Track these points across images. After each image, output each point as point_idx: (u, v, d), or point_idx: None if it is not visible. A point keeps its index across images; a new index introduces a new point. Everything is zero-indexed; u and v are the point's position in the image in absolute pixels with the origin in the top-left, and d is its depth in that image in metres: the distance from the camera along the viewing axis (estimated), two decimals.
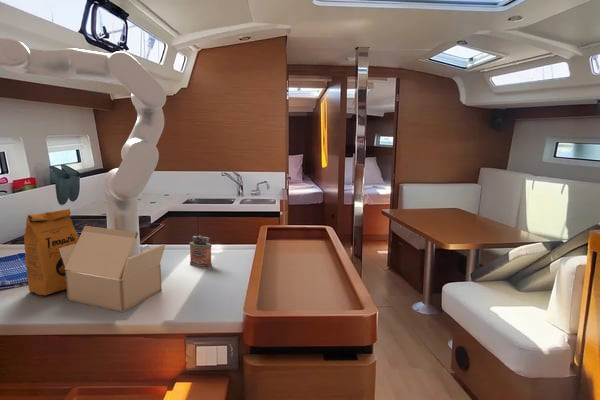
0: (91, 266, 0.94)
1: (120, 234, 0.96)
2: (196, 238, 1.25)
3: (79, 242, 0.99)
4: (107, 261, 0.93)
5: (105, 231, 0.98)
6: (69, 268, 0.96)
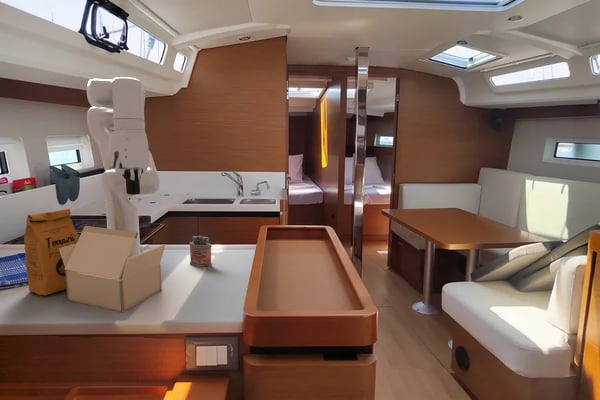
0: (91, 266, 0.94)
1: (120, 234, 0.96)
2: (196, 238, 1.25)
3: (79, 242, 0.99)
4: (107, 261, 0.93)
5: (105, 231, 0.98)
6: (69, 268, 0.96)
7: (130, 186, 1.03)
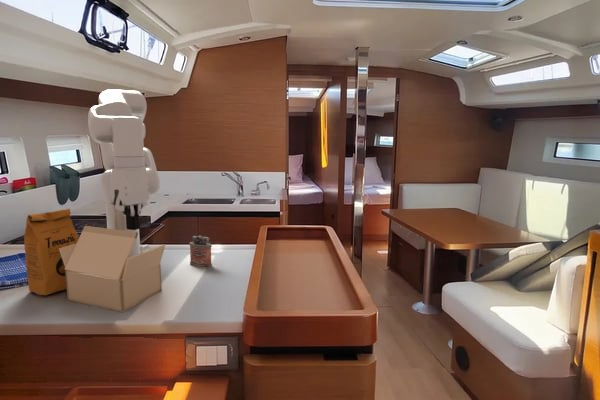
0: (91, 266, 0.94)
1: (120, 234, 0.96)
2: (196, 238, 1.25)
3: (79, 242, 0.99)
4: (107, 261, 0.93)
5: (105, 231, 0.98)
6: (69, 268, 0.96)
7: (130, 222, 1.04)
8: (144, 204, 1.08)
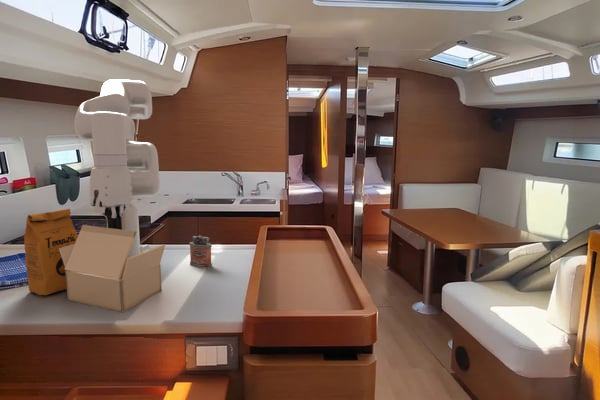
0: (90, 266, 0.94)
1: (118, 233, 0.96)
2: (196, 238, 1.25)
3: (78, 241, 0.98)
4: (106, 261, 0.93)
5: (103, 231, 0.97)
6: (69, 268, 0.96)
7: (111, 224, 0.98)
8: (127, 205, 1.02)
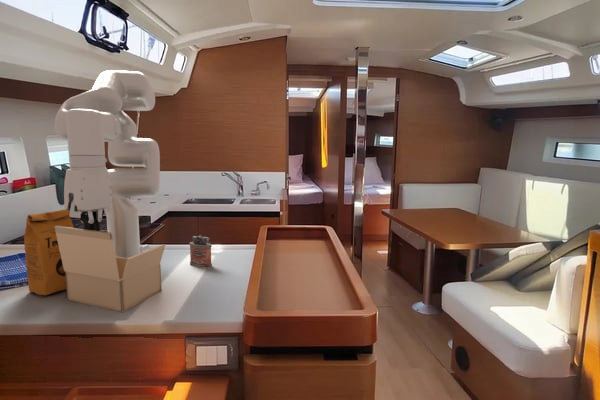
0: (86, 268, 0.93)
1: (94, 236, 0.89)
2: (196, 238, 1.25)
3: (60, 244, 0.94)
4: (98, 264, 0.91)
5: (78, 233, 0.90)
6: (68, 270, 0.95)
7: None
8: (106, 210, 0.95)
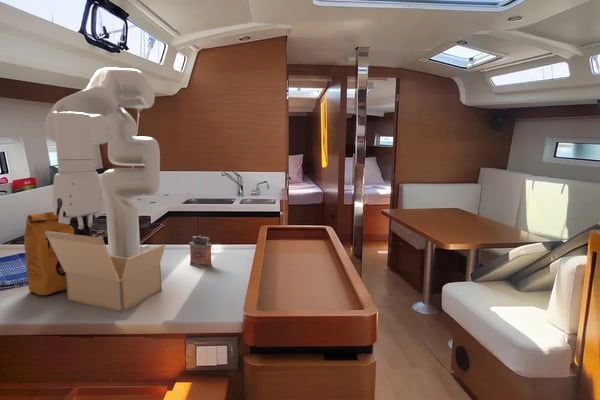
0: (85, 269, 0.93)
1: (86, 241, 0.87)
2: (196, 238, 1.25)
3: (54, 247, 0.92)
4: (96, 266, 0.90)
5: (69, 238, 0.88)
6: (68, 270, 0.95)
7: None
8: (97, 214, 0.93)
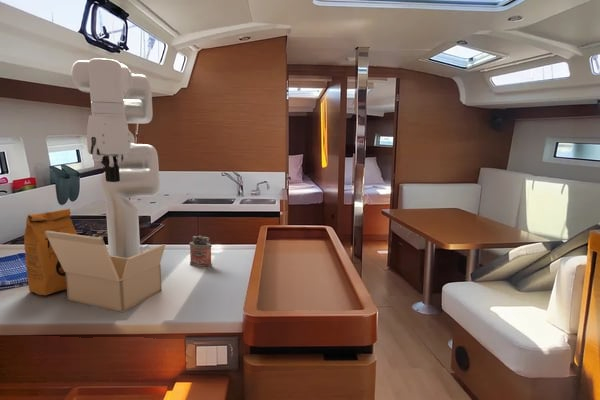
0: (85, 269, 0.93)
1: (86, 241, 0.87)
2: (196, 238, 1.25)
3: (54, 247, 0.92)
4: (96, 266, 0.90)
5: (69, 238, 0.88)
6: (68, 270, 0.95)
7: (109, 173, 0.98)
8: (125, 156, 1.03)
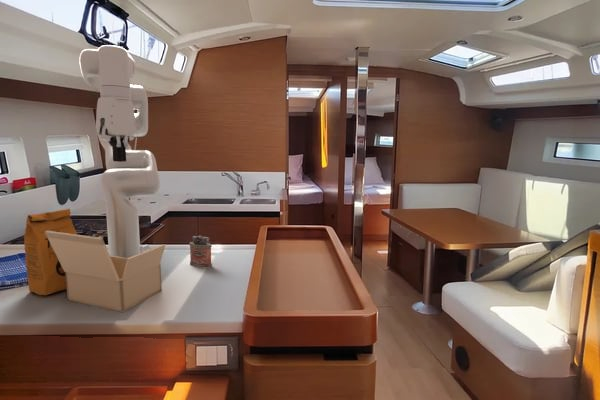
0: (85, 269, 0.93)
1: (86, 241, 0.87)
2: (196, 238, 1.25)
3: (54, 247, 0.92)
4: (96, 266, 0.90)
5: (69, 238, 0.88)
6: (68, 270, 0.95)
7: (116, 153, 1.05)
8: (131, 138, 1.10)
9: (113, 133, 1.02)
